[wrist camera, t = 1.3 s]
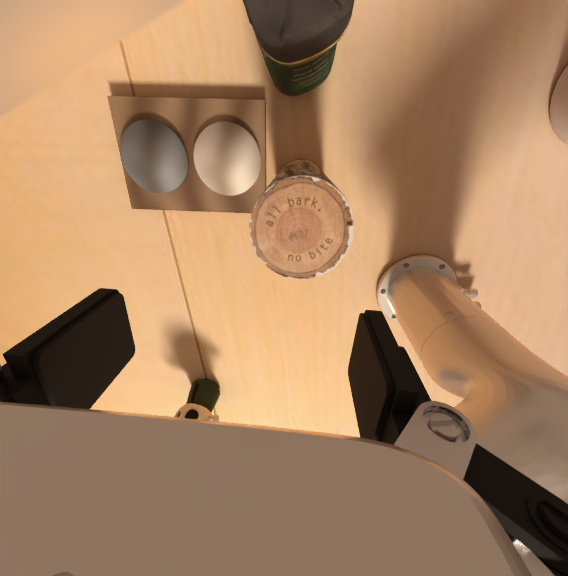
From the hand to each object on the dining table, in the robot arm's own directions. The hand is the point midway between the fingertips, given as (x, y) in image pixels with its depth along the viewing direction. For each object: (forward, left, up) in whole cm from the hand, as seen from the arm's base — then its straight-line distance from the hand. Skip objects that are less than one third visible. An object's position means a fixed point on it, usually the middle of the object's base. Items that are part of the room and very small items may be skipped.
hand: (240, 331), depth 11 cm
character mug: (+16, +40, -34) cm, 55 cm away
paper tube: (-2, -2, -34) cm, 34 cm away
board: (+13, -5, -34) cm, 36 cm away
